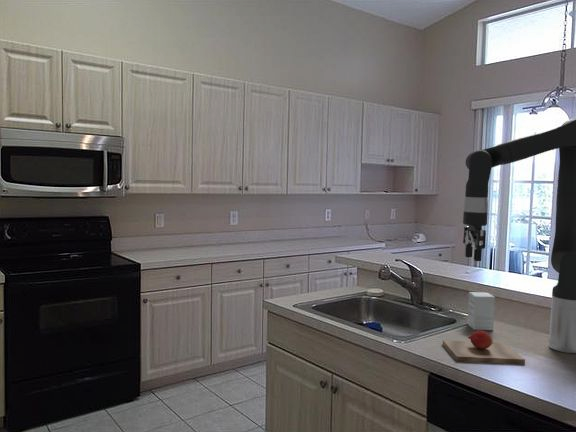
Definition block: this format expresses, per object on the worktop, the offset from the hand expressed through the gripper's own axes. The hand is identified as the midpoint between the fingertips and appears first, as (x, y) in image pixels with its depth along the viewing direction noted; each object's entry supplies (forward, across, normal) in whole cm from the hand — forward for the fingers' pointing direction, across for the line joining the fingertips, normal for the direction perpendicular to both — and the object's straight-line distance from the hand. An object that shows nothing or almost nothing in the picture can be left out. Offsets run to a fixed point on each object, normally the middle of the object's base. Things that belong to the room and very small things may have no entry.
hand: (472, 259), depth 161 cm
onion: (+24, -15, -2) cm, 28 cm away
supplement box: (+28, +17, -10) cm, 34 cm away
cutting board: (+28, -12, 0) cm, 31 cm away
